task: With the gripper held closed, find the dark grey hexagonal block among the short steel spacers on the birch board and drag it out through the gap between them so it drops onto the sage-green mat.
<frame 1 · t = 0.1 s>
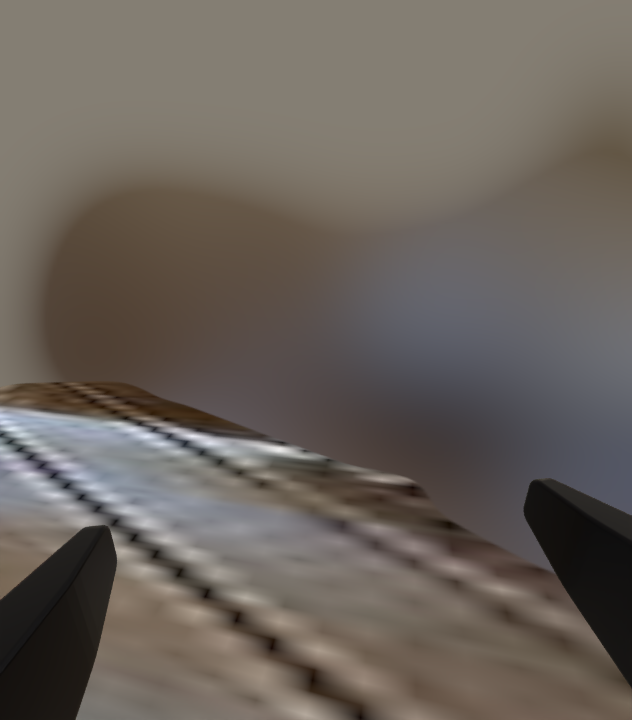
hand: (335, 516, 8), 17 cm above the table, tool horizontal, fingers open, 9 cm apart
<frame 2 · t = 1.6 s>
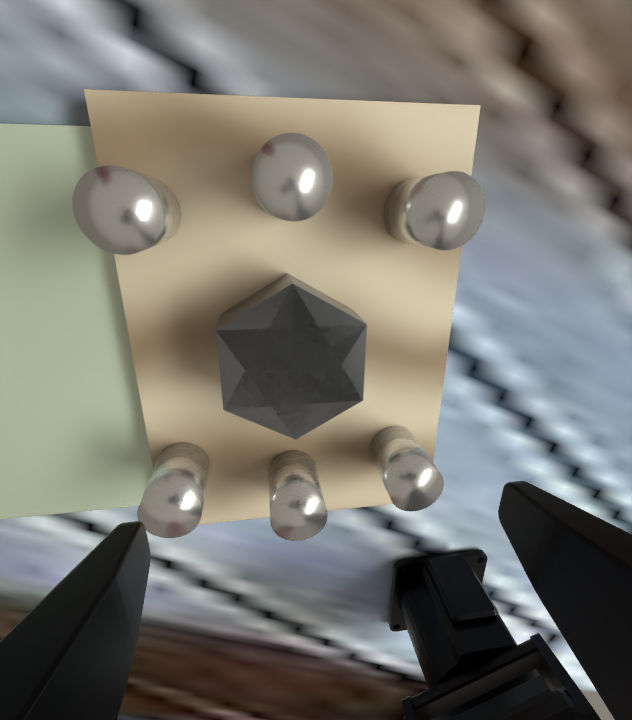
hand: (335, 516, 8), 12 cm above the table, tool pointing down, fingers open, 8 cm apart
steel spacers: (292, 361, 17), on the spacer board, point 3 cm above the table
dark grey hexagonal block: (289, 347, 18), point 1 cm above the table, touching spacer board
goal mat: (22, 351, 18), on the table
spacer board: (297, 339, 19), on the table
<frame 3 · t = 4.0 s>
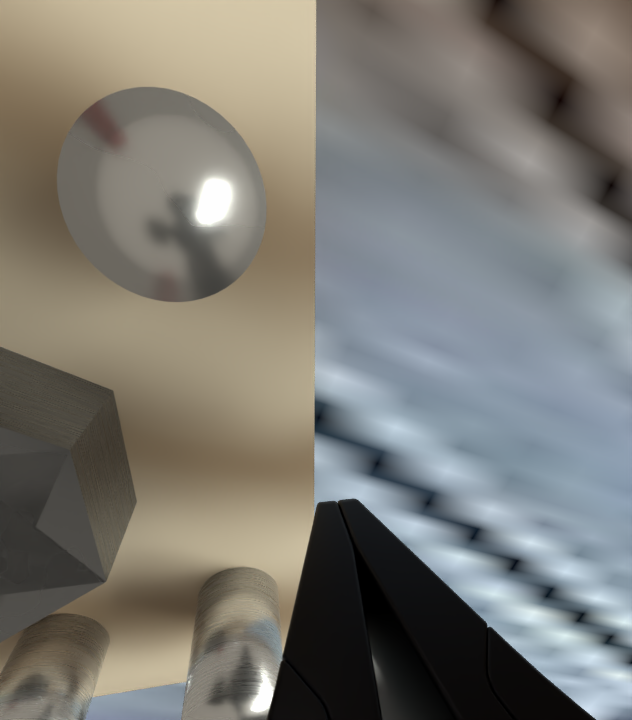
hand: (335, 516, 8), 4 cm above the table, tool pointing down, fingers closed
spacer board: (44, 432, 11), on the table
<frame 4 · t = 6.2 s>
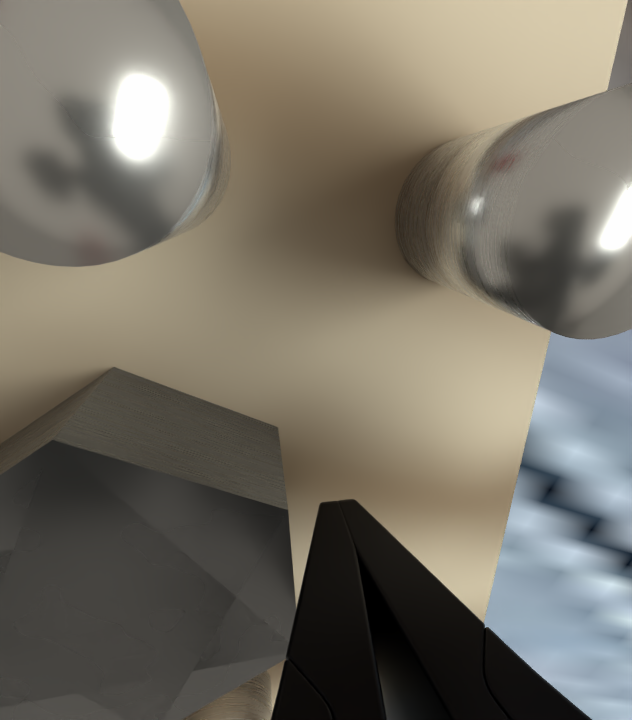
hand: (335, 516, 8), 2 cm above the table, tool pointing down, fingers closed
steel spacers: (187, 565, 7), on the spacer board, point 3 cm above the table
dark grey hexagonal block: (149, 508, 9), point 1 cm above the table, touching gripper, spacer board
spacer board: (224, 464, 10), on the table
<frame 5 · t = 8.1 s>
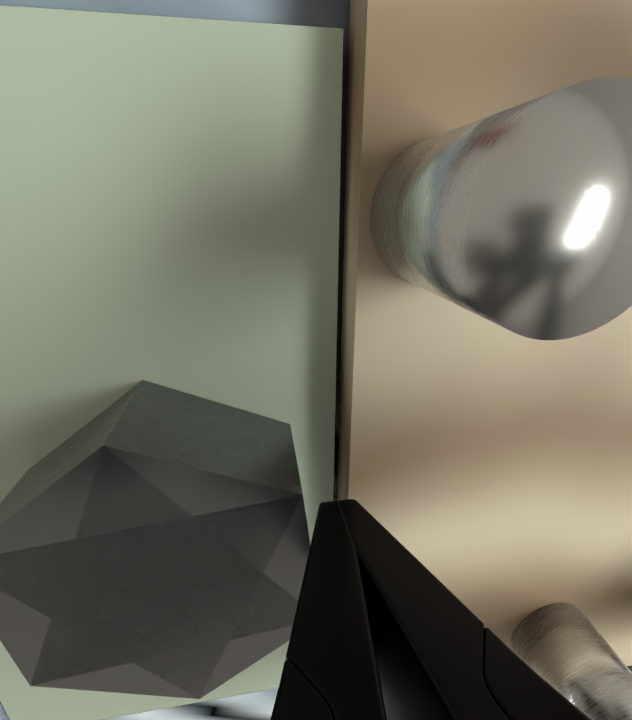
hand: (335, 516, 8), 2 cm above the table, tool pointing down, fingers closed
dark grey hexagonal block: (181, 503, 10), resting on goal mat, touching gripper
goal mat: (138, 471, 10), on the table
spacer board: (586, 429, 12), on the table
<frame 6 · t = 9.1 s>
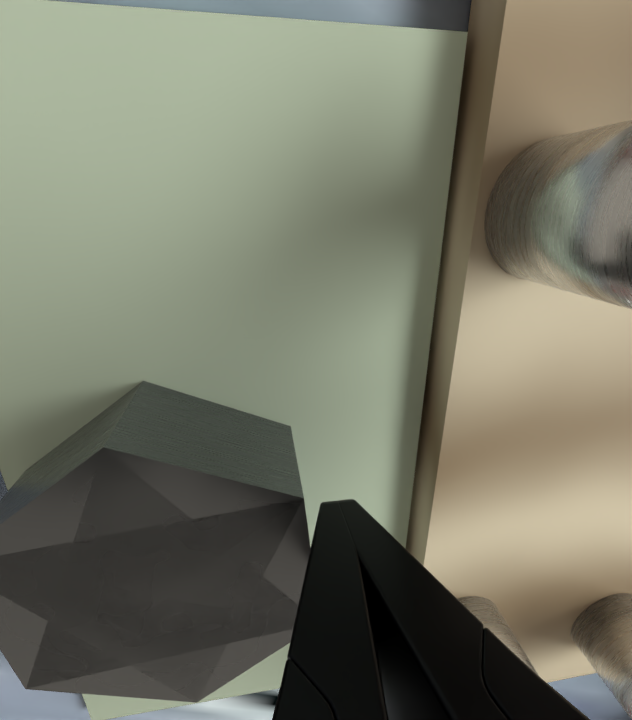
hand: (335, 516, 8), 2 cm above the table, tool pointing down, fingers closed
dark grey hexagonal block: (179, 504, 10), resting on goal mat, touching gripper
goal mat: (228, 462, 10), on the table
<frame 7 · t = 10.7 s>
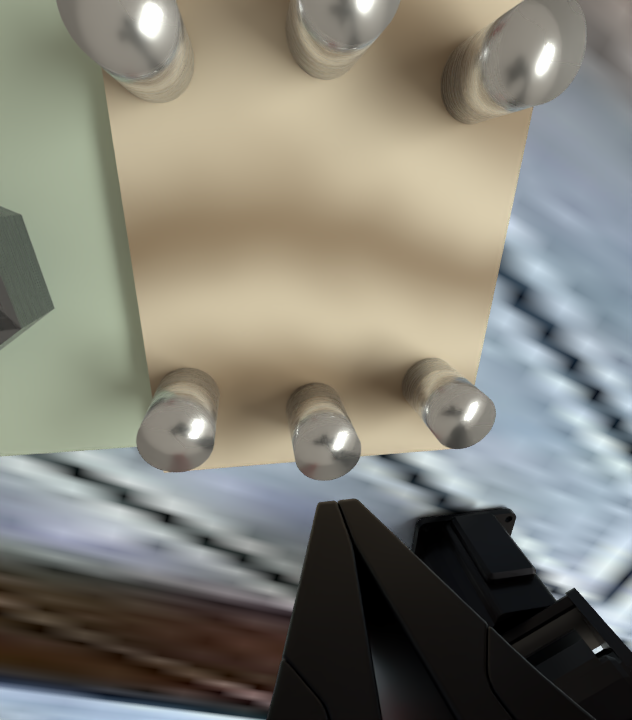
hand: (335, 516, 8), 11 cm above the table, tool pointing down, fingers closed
steel spacers: (327, 260, 14), on the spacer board, point 3 cm above the table
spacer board: (325, 249, 17), on the table
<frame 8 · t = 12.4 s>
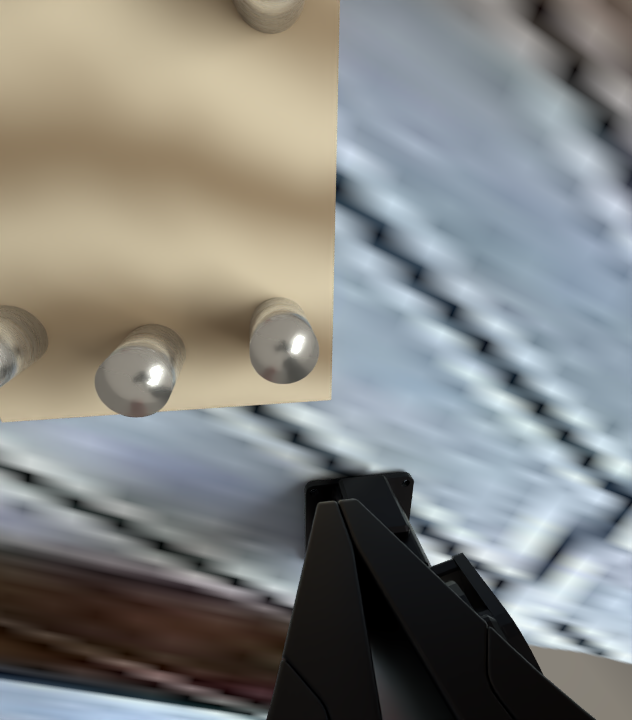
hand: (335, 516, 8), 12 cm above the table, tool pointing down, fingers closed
steel spacers: (112, 175, 13), on the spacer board, point 3 cm above the table
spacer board: (149, 180, 16), on the table
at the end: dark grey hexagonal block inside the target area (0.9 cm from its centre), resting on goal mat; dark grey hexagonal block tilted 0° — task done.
